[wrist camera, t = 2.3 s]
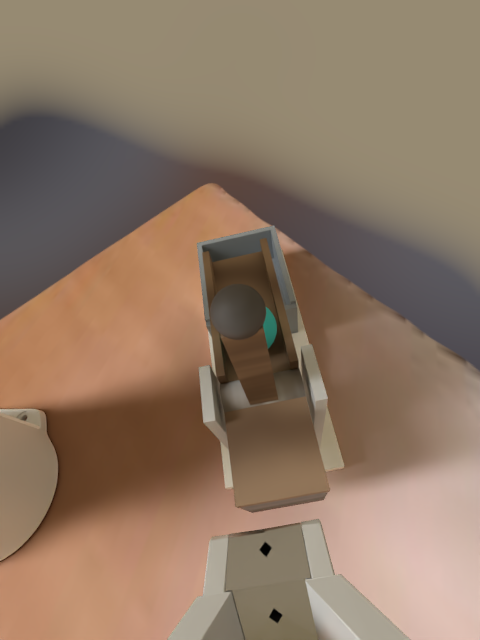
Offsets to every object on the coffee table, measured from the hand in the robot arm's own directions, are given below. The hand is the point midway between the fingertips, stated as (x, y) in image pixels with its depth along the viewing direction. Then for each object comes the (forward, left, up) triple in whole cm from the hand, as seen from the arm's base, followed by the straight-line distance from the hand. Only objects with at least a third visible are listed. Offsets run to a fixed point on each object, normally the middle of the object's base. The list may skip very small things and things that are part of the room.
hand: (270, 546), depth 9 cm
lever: (-4, +11, -19) cm, 23 cm away
